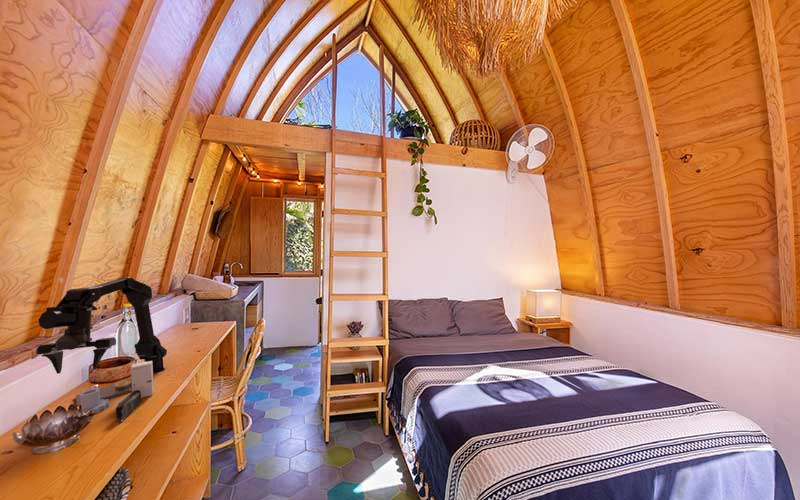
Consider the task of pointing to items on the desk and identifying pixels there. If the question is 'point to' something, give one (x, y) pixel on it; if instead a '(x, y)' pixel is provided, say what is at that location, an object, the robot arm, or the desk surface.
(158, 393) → the desk surface
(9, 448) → the desk surface
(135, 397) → the mobile phone
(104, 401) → the grey stepped block
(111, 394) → the carrier plate
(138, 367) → the skincare box
